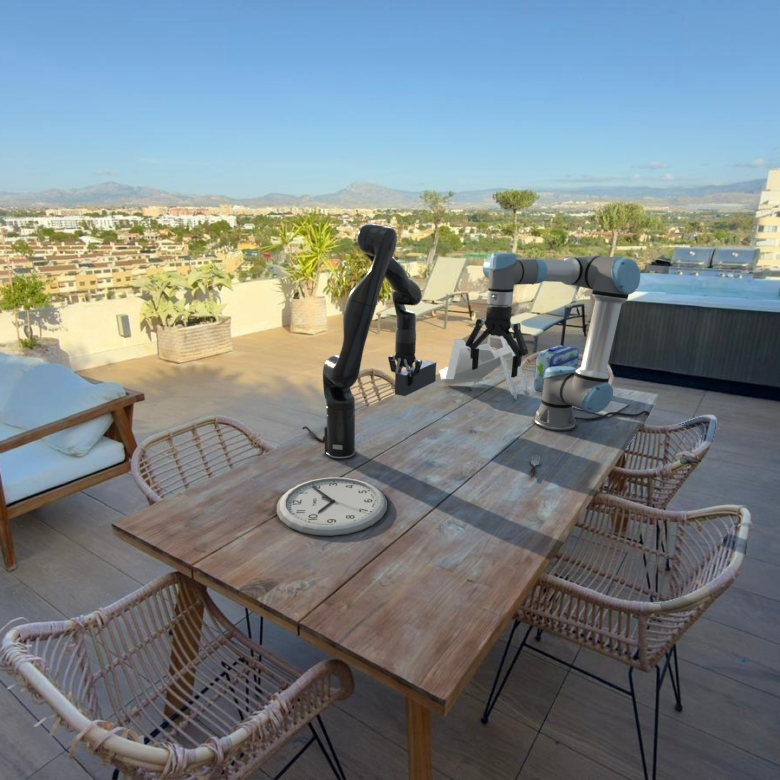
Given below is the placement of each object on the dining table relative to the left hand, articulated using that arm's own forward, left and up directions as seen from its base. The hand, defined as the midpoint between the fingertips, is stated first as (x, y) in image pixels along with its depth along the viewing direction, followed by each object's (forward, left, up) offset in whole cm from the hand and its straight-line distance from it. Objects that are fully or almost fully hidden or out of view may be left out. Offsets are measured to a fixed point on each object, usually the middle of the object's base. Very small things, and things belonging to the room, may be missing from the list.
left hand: (404, 384), depth 198 cm
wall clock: (+14, -64, -16) cm, 68 cm away
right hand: (+39, -12, +13) cm, 43 cm away
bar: (0, +9, -4) cm, 10 cm away
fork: (+54, -12, -16) cm, 58 cm away
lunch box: (+38, +78, -16) cm, 88 cm away
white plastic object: (+10, +55, -16) cm, 58 cm away
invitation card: (+62, +65, -16) cm, 91 cm away
